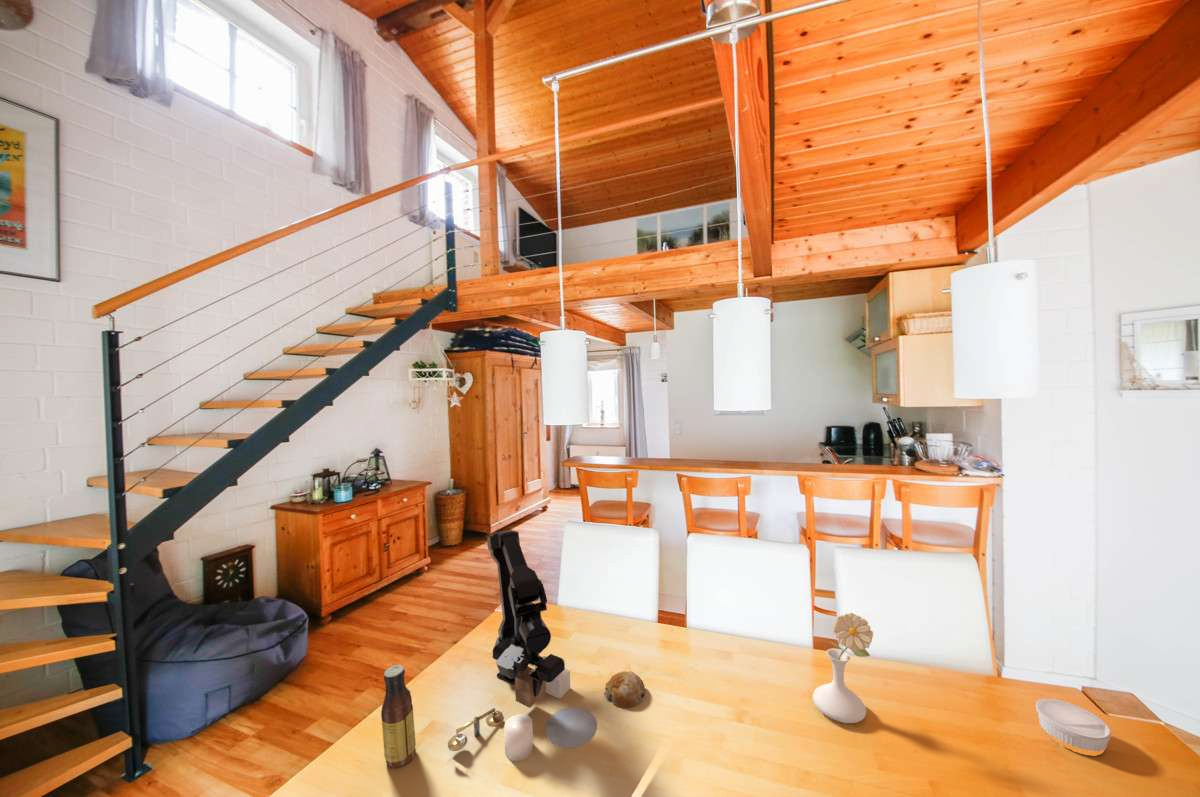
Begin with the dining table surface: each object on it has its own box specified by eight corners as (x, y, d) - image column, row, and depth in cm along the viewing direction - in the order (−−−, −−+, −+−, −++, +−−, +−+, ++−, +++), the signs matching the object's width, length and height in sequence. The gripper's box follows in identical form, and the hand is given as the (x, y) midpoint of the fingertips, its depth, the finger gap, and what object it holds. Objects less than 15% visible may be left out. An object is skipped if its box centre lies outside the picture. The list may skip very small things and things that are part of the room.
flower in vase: (806, 712, 105) (804, 610, 104) (820, 687, 113) (819, 592, 113) (868, 741, 96) (867, 630, 95) (879, 712, 105) (878, 609, 104)
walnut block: (515, 700, 106) (514, 676, 106) (528, 689, 110) (527, 666, 109) (529, 707, 103) (528, 683, 103) (542, 696, 107) (541, 672, 107)
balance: (494, 715, 107) (494, 690, 106) (506, 721, 104) (506, 696, 104) (444, 760, 94) (443, 732, 94) (456, 768, 92) (455, 740, 92)
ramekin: (1100, 770, 88) (1100, 745, 88) (1026, 732, 98) (1026, 709, 98) (1118, 748, 93) (1119, 724, 93) (1046, 713, 103) (1047, 691, 103)
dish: (534, 738, 99) (534, 733, 99) (566, 705, 109) (565, 700, 109) (577, 761, 93) (577, 756, 93) (606, 724, 103) (606, 719, 103)
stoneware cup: (498, 759, 94) (497, 728, 94) (518, 738, 100) (517, 709, 99) (520, 772, 91) (519, 740, 90) (540, 750, 96) (539, 720, 96)
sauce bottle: (407, 741, 100) (404, 655, 99) (421, 755, 96) (418, 666, 95) (378, 760, 94) (374, 671, 94) (391, 776, 91) (387, 683, 90)
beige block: (546, 697, 113) (545, 674, 112) (556, 686, 116) (556, 664, 116) (559, 703, 110) (559, 680, 110) (570, 692, 114) (569, 670, 114)
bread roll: (635, 729, 106) (649, 701, 105) (597, 706, 108) (610, 679, 107) (640, 700, 116) (652, 674, 115) (605, 680, 117) (617, 655, 116)
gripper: (474, 635, 104) (476, 698, 105) (534, 659, 94) (536, 730, 95) (507, 613, 113) (509, 672, 114) (565, 634, 104) (567, 698, 104)
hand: (528, 692), depth 106 cm, fingers closed on walnut block, 4 cm apart
